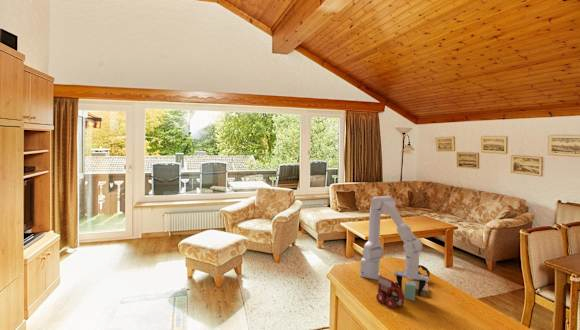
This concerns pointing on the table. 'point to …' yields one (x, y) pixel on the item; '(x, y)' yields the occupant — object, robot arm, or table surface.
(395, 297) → the toy fire truck
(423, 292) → the pale grey flat block
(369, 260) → the robot arm
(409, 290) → the teal block
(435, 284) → the table surface
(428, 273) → the dark headphones
